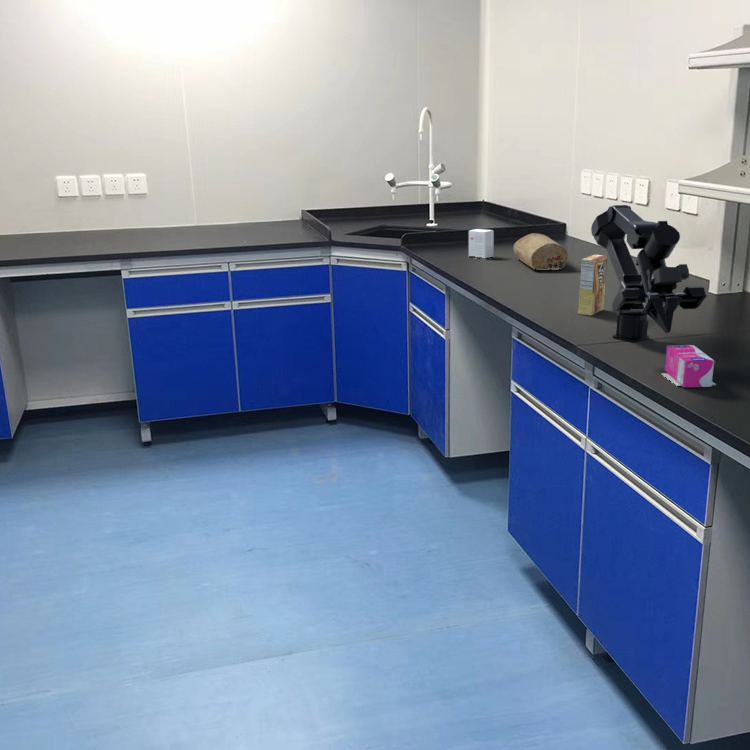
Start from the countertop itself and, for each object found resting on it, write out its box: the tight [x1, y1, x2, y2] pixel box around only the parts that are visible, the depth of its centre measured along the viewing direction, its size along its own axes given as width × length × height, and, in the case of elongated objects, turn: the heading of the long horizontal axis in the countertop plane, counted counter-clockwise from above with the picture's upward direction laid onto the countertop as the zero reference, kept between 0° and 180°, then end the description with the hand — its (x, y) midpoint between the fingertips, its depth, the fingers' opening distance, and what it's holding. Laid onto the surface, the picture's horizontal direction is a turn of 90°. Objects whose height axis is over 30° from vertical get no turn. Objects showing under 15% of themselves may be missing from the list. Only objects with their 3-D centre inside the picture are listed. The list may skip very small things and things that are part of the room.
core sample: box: [513, 232, 569, 270], centre depth 298 cm, size 14×26×10 cm, turn 4°
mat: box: [661, 372, 717, 387], centre depth 170 cm, size 8×8×1 cm
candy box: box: [577, 254, 609, 316], centre depth 227 cm, size 9×4×15 cm, turn 144°
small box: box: [468, 228, 495, 258], centre depth 315 cm, size 8×6×10 cm
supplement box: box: [663, 344, 715, 388], centre depth 169 cm, size 6×6×12 cm
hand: (668, 332), depth 179 cm, fingers closed
